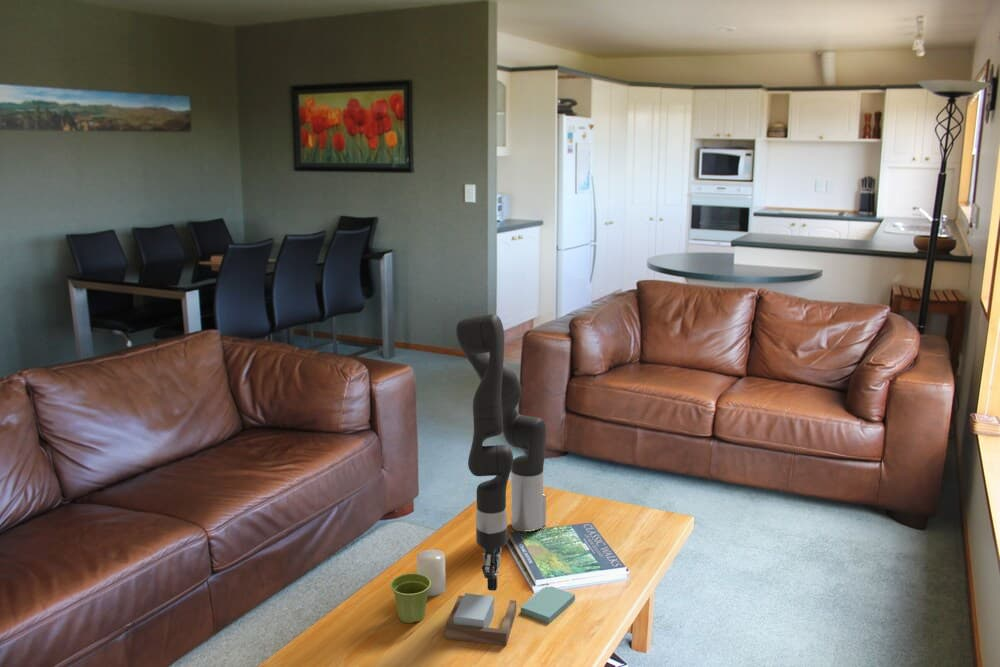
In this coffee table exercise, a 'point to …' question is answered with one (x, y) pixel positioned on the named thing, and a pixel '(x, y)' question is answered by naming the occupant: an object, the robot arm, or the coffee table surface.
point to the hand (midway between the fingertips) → (492, 588)
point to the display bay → (481, 628)
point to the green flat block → (547, 604)
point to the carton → (475, 611)
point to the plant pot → (411, 596)
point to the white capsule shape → (433, 570)
